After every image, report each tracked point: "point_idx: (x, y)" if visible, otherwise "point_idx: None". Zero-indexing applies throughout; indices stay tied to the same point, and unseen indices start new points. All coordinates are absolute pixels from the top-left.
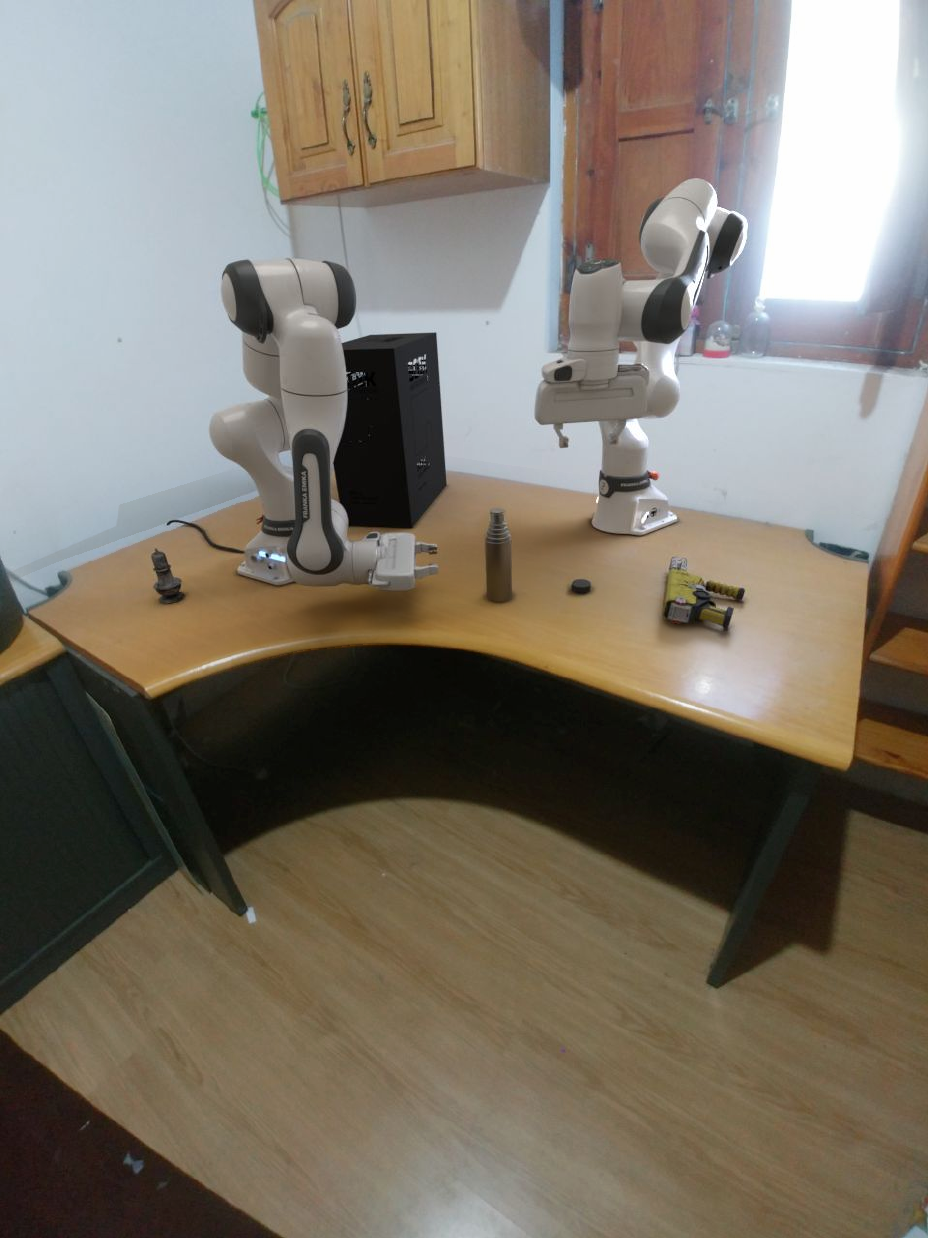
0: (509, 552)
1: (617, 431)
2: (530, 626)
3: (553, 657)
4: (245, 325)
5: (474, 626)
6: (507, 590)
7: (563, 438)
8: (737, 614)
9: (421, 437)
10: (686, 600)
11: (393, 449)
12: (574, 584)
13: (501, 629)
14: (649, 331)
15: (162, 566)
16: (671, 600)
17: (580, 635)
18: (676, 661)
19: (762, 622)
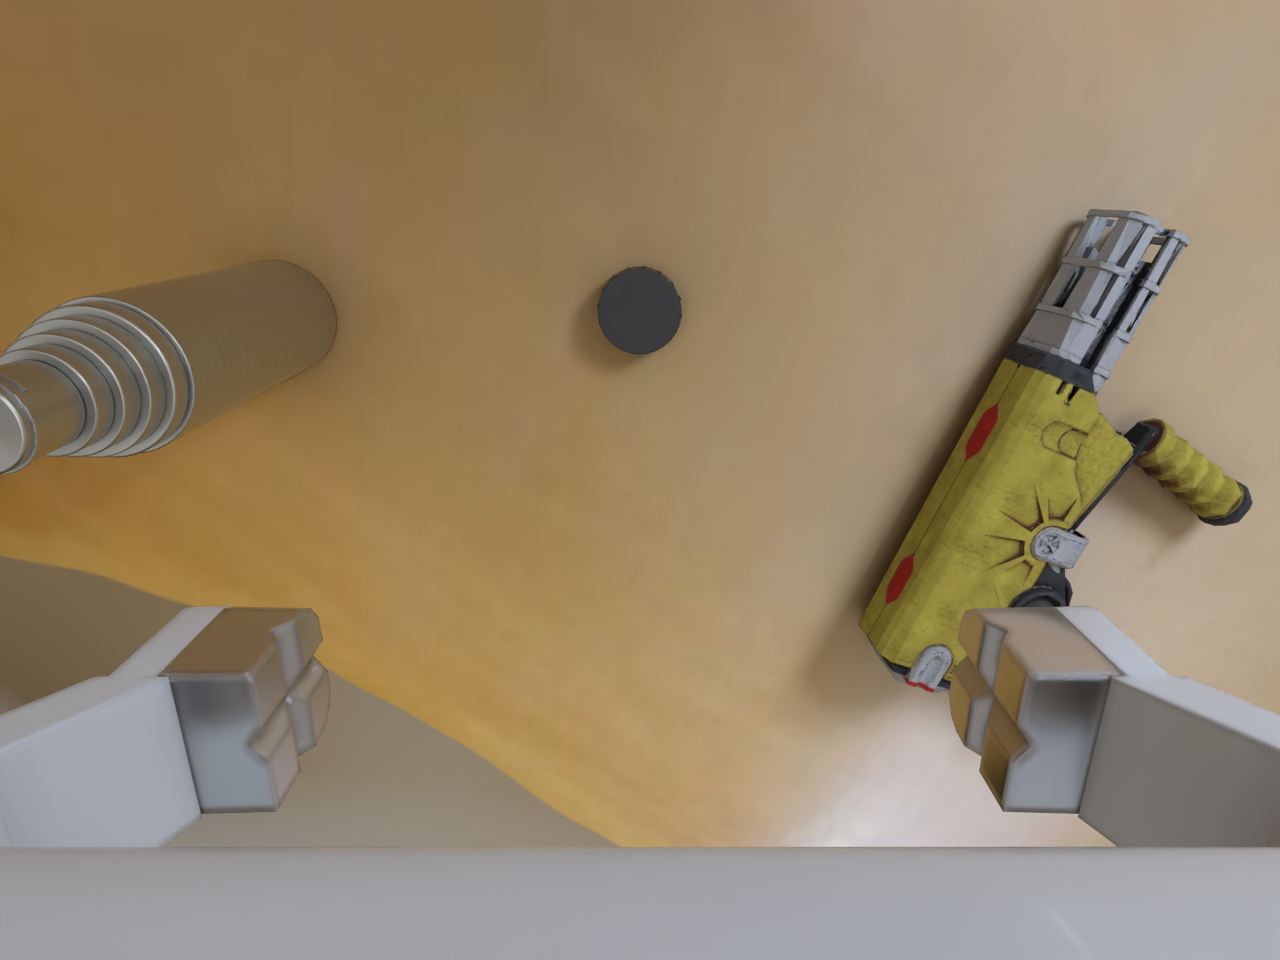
0: (222, 406)
1: (1145, 841)
2: (403, 558)
3: (462, 728)
4: None
5: (201, 532)
6: (298, 372)
7: (186, 820)
8: (1130, 580)
9: None
10: (951, 665)
11: None
12: (607, 321)
13: (300, 563)
14: None
15: None
16: (897, 664)
17: (565, 631)
18: (803, 783)
19: (1172, 635)
